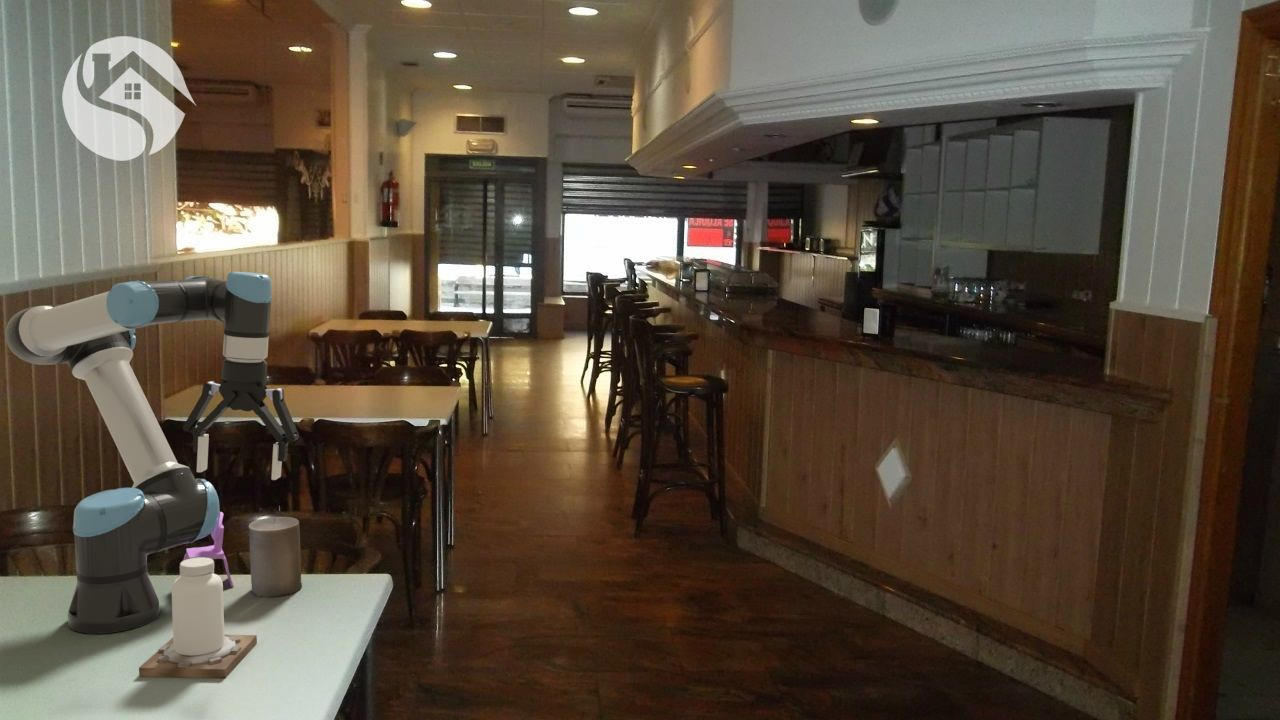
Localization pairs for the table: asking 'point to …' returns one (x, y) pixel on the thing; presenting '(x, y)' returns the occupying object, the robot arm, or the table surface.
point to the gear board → (199, 660)
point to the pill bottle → (197, 608)
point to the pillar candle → (275, 556)
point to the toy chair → (212, 547)
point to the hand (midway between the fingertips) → (239, 474)
